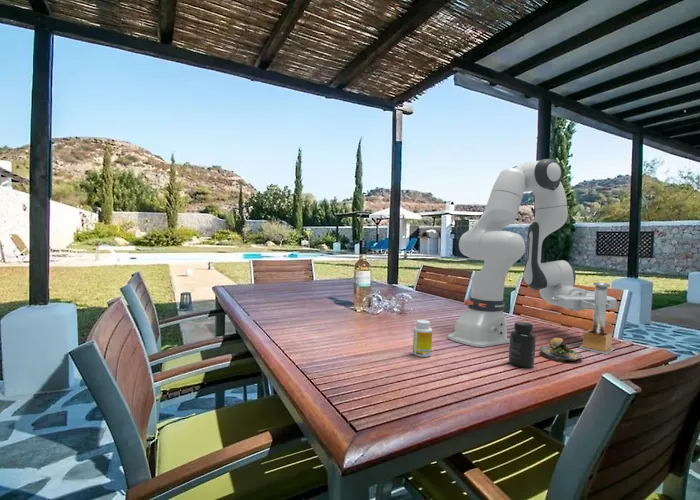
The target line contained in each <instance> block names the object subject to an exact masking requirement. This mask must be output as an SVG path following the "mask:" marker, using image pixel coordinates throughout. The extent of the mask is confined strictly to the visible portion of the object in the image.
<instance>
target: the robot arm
mask: <svg viewBox="0 0 700 500" xmlns="http://www.w3.org/2000/svg"><path fill="white" fill-rule="evenodd" d="M562 177H563V170H562V166H561V165H560V163H559V162H558V161H557V160H555V159H553V158H545V159H544V158H543V159H542V158H541V160H534V161H529V162H526V163H522V164H520V165H516V166H513V167H507V168H505V169H502V170H501V171H500V173H499V174H498V176H497V178H496V180H495V182H494V183H493V187H492V189H491V191H490V194H489V197H488V201H487V203H486V206H485V208H484V210H483V213H482V214H481V216H480V218H479V219H478V220H477V222H476V223H475V224H474V225H473V226H472V227H471V228H470V229H469V230H467V231H465V232H464V233H462V234H461V236H460V238H459V241H458V249H459V252H460V253H461V254H462V255H463V256H465V257H467V258H470V259H474V260H481V261H484V263H483V265H482V267H481V269H480V270H479V271H477V272H475V273H474V274H473V275H472V278H471V292H470V297H469V299H464V300H463V301H464V302H463V305H465V306H467V308H466V310H465V311H464V312H463V313H462V314H461V315H460V316H459V317H458V319H457V320H456V321H455V326H454V331H453V332H450V333H449V334H447V337H446V338H447V339H449V340H450V341H453V342H456V343H460V344H463V345H467V346H470V347H471V346H472V347H476V348H485V347H486V348H487V347H492V346H497V345H504V344H505V345H506V344H510V338H508V331H507V330H508V324H507V323H508V322H507V318H506V315H505V314H504V310H505V300H504V291H505V283H506V278H507V276H508V275H507V274H508V273H509V270H510V269H511V267H512V266H513V265H514V264H515V263H516V262H518V261H520V259H521V258H522V257H523V255H524V254H525V263H524V269H523V276H522V277H523V282H524V283H525V284H526V286H528V287H529V288H530V289H533V290H534V291H538V290H539V294H540V297H541V298H542V299H543V300H544V301H546V302H547V303H548V304H551V305H553V306H556V307H560V308H563V309H566V310H568V311H571V312H579V311H580V312H581V311H583V310H585V311H586V310H590V309H591V310H594V309H597V306H598V305H597V304H596V303H594V300H595V290H591V289H584V288H580V287H576V286H575V284H576V278H577V277H576V276H577V275H576V271H575V270H576V269H575V268H574V267H573V265H572V264H571V263H570V262H568V261H567V260H564V259H560V260H555V261H554V260H553V261H547V262H542V250H543V249H542V246H543V242H544V240H545V239H546V237H548V236H549V235H550V234H552V233H555V232H556V231H557V230H559V229H561V228H562V227H563V226H564V225H565V223H567V220H568V216H569V213H568V212H569V211H568V201H567V195H566V192H565V188H564V186H563V183H562ZM527 192H528V193H529V192H532V194H533V196H534V209H535V210H534V211H535V213H534V218H533V222H532V223H530V224H529V226H528V230H527V237H526V238H527V239H526V243H525V240H524V237H522V235H521V234H519V233H517V232H512V231H510V230H509V231H508V230H504V229H505V228H506V227H508V226H509V225H511V224H512V223H514V221H515V220H516V219H517V215H518V213H519V209H520V208H521V203H522V200H523V198H524V197H523V196H524V193H527ZM525 250H526V251H525ZM617 305H618V301H617V298H615V297H612V296H610V295H607V303H606V310H616V309H617Z"/></svg>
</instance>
